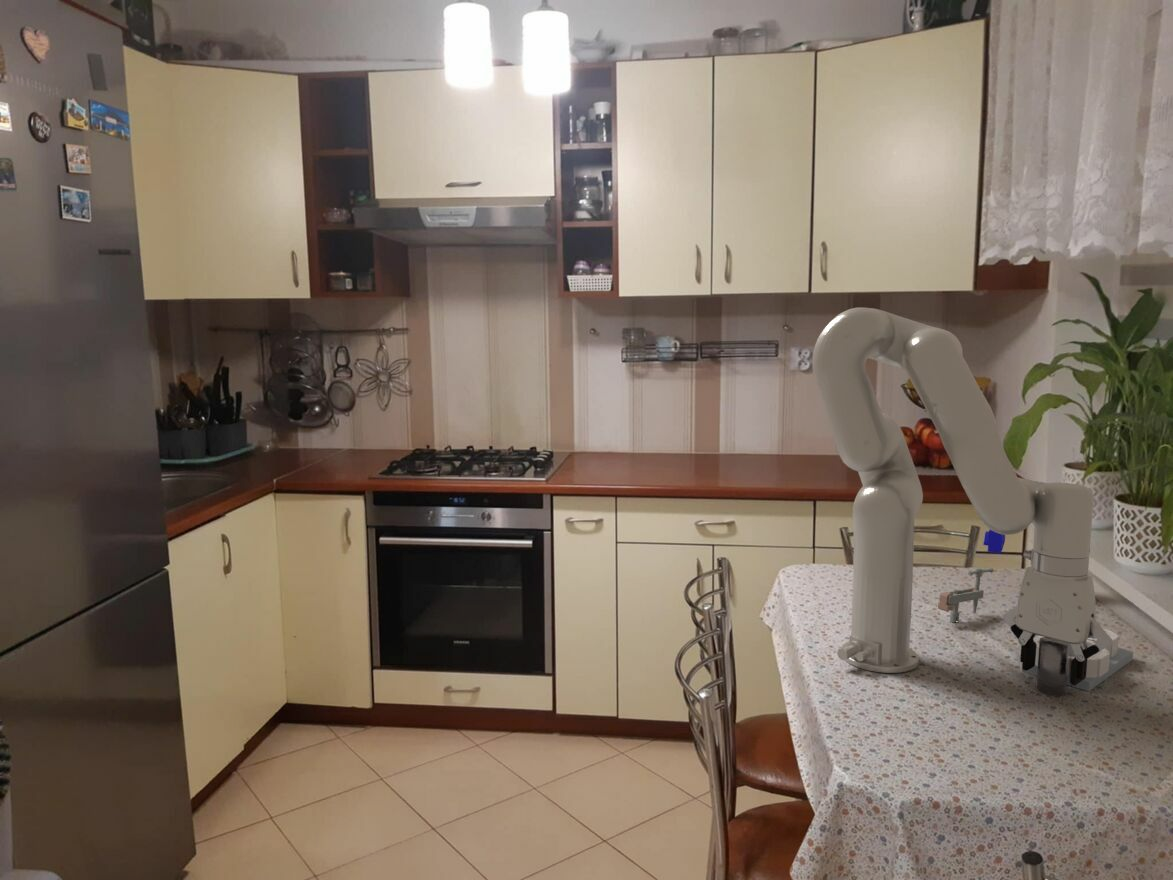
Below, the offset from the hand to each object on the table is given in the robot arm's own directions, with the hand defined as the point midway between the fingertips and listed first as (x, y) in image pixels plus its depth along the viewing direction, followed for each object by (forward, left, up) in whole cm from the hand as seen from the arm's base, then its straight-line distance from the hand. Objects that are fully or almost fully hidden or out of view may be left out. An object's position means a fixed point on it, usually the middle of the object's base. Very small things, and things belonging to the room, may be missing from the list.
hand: (1051, 674), depth 131 cm
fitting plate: (+14, +1, -3) cm, 14 cm away
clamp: (+20, +24, -3) cm, 32 cm away
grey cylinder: (0, 0, -3) cm, 3 cm away
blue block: (+76, +44, -3) cm, 88 cm away
